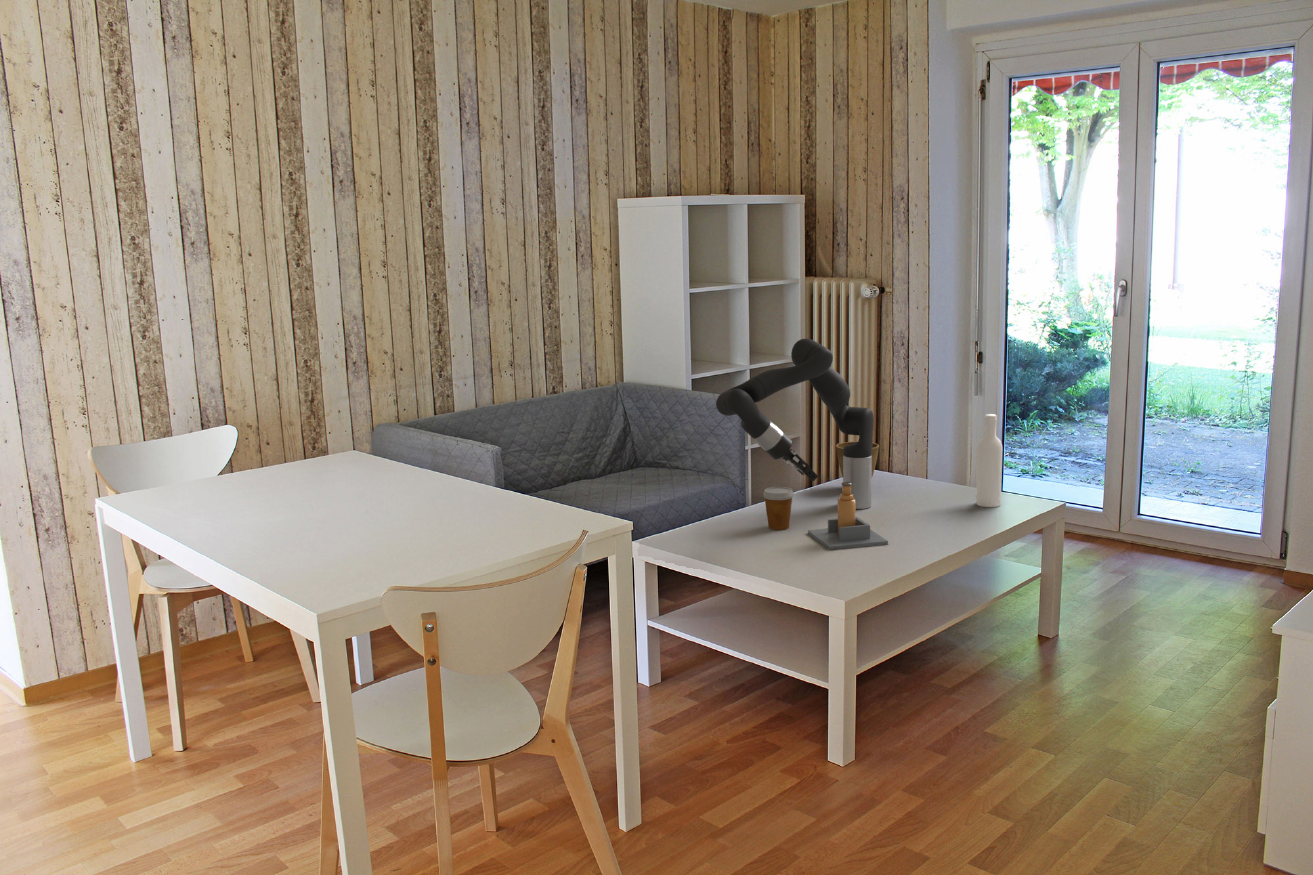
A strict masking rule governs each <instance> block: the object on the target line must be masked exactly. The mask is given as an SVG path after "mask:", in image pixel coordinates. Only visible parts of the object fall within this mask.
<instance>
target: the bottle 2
mask: <svg viewBox="0 0 1313 875" xmlns="http://www.w3.org/2000/svg"><path fill="white" fill-rule="evenodd" d="M997 417H998V416H997V414H994V413H988V414H985V415H984V419H983V420H984V436H983V437H981V439H979V441H978V443H977V447H976V448H977V451H976V452H977V454H976V491H975V492H976V494H975V505H976V506H978V507H982V508H998V507H1000V506H1001V505H1002V503H1001V502H1002V480H1003V479H1002V477H1003V475H1002V474H1003V473H1002V472H1003V450H1004V449H1003V444H1002V440H1001V439H1000V438H999V437H998V436H997V421H998V418H997Z"/></svg>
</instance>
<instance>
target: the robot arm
mask: <svg viewBox="0 0 1313 875" xmlns="http://www.w3.org/2000/svg"><path fill="white" fill-rule="evenodd" d="M790 353H791V361H792V363H793V366H789V367H788V366H787V367H783V368H782V367H781V368H774V369H773V368H772V369H769V370H764V371H763V372H760V373H758V374H756V375H755V376H753V377H751V378H749V379H748V380H747V381H744V382H743V383H741V384H738V385H736V386H733V387H732V388H729V389H727V390H725V391H723V392H722V393H720V394H719V395H718V396H717V399H716V402H715V407H716V410H717V411H718V412H719V413H720V414H721V415H723V416H726V417H728V416H729V417H730V416H734V415H735V416H738V417H739V419H741V421H740V427H741V428H742V429H743V430H744V431H745V433H746V434H748V435H749V436H750V438H752V440H754V441H755V443H757V445H758V446H759V447H760V448H761V449H762V450H764V451H765V452H766V454H768V455H769V456H770V458H772V459H773V460H782V461H783V462H785V463H786V464H787V465H788V466H790V467H792V468H794V469H795V470H796V471H797V472H798V473H799V474H801V475H802V476H804V475H805V476H806V477H807V478H808V479H810V481H812V482H815V481H816V480H817V478H818V477H819V476H818V474H817V473H816V472H815V471H814V470H813V469H812V468H811V465H809V464H808V463H807V462H806V461H805V459H803V458H802V457H801V456H800V455H799V453H797V451H795V450H793V449H792V448H791V447H792V446H793V440H792V439H791V438H790V437H789V435H787V434H786V433H785V432H784V431H783V430H782V429H780V427H779V426H777V424H776V423H774V422H772V421H771V420H770V419H769V418H768V417H767V416H766V415H764V413H762V412H761V410H760V409H759V407H758V405H757V404H756V403H759V402H761V401H763V400H764V399H767V398H768V397H770V396H772V395H773V394H776V393H777V392H780V391H781V390H785V389H787V388H788V387H789V388H790V387H791V386H795V385H797V384H801V383H804V382H806V381H809V383H810V384H811V386H812V387H813V389H814V391H815V392H816V394H817V395H818V396H819V398H820V399H821V401H822V403H823V404H824V405H825V406H826V407H827V409H828V410H829V413H831V415H832V417H833V420H834V422H835V423H836V426H837V427H838V428H837V429H839V431H840V432H841V433H843V434H844V435H849V436H858V441H855V442H856V443H854V444H850V445H847V446H845V447H844V449H843V477H842V482H851V483H852V486H851V494H853V498H854V499H856V510H862V509H869V508H871V507H872V481H873V476H872V445H873V443H874V440H873V439H874V426H875V420H874V418H875V415H874V412H873V410H872V409H871V408H868V407H859V406H858V407H857V406H849V405H848V403H849V401H850V398H851V389H850V387H849V385H848V384H847V382H846V380H845V379H844V378H843V377H842V375H841V374H840V373H839V372H837V371H836V370H835V369H834V367H832V364H833V361H834V360H833V359H834V355H833V353H832V351H831V350H830V349H829V348H827V347H826V346H824V345H823V344H821V343H819V342H817V341H815V340H814V339H810V338H801V339H799V340H797V341H796V342H795V343H794V344H793V345H792V349H791V352H790ZM781 458H782V459H781Z"/></svg>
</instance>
